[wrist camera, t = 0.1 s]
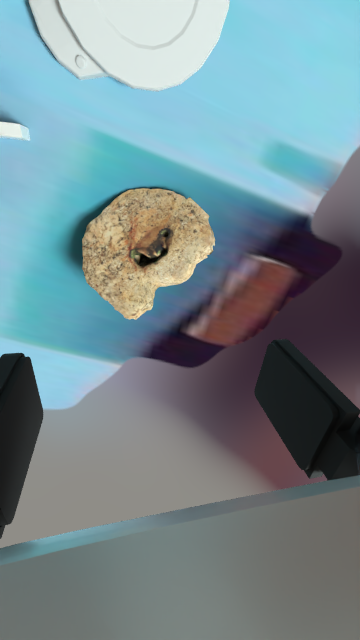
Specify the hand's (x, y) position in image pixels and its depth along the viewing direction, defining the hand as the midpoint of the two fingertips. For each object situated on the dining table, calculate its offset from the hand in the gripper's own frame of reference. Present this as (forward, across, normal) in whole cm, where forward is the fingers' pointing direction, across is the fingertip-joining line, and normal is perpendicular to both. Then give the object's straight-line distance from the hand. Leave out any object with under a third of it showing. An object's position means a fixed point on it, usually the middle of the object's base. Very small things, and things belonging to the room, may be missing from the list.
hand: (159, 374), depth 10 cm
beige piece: (+33, -2, +4) cm, 33 cm away
